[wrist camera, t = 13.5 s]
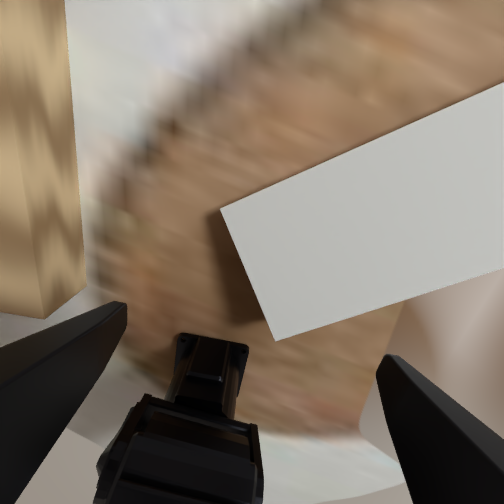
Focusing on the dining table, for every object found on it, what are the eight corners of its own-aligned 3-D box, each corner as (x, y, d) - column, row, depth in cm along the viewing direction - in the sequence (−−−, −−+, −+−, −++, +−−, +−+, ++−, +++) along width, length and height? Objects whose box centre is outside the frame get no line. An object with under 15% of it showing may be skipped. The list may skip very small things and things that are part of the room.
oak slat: (88, 284, 23) (44, 319, 19) (42, 276, 23) (-14, 309, 18) (55, -167, 13) (-58, -333, 9) (-26, -184, 13) (-184, -361, 9)
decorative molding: (235, 210, 23) (279, 315, 23) (219, 208, 18) (275, 341, 19) (743, -14, 16) (784, 144, 17) (929, -108, 11) (975, 116, 12)
